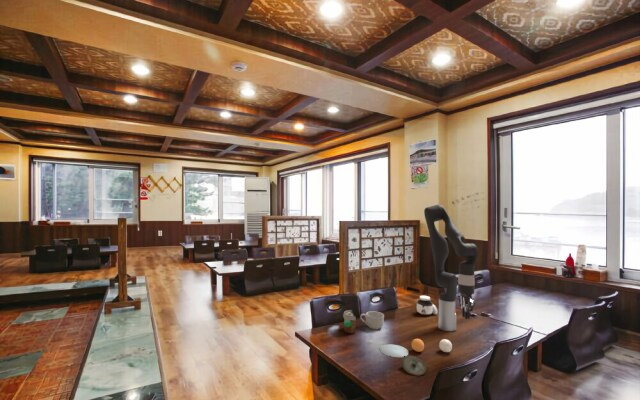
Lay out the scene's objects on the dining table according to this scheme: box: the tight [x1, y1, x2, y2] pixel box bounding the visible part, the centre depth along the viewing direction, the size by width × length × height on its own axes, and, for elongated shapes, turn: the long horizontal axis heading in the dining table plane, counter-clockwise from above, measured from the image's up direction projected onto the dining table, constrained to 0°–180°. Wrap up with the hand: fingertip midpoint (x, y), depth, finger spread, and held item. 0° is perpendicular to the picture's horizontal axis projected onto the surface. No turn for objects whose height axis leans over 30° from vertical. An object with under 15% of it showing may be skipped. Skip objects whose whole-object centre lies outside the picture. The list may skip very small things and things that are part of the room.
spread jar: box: [416, 295, 439, 317], centre depth 215 cm, size 12×11×12 cm
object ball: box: [411, 338, 425, 353], centre depth 157 cm, size 6×6×6 cm
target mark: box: [379, 343, 409, 358], centre depth 157 cm, size 14×14×1 cm
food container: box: [342, 309, 357, 335], centre depth 181 cm, size 12×6×10 cm, turn 5°
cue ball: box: [438, 338, 453, 353], centre depth 157 cm, size 6×6×6 cm
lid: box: [401, 355, 427, 377], centre depth 138 cm, size 11×10×5 cm
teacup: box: [359, 310, 385, 330], centre depth 188 cm, size 14×11×8 cm
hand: (465, 317), depth 158 cm, fingers closed
